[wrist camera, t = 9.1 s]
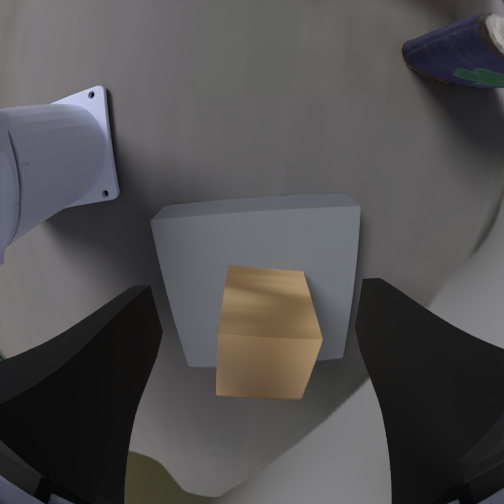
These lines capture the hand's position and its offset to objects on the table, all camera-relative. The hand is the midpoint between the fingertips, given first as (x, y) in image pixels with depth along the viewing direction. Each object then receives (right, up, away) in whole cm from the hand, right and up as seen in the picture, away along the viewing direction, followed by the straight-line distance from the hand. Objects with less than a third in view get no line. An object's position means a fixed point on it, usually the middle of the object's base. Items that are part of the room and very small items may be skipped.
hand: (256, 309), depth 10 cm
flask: (+14, +15, +4) cm, 21 cm away
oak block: (0, -1, +9) cm, 9 cm away
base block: (0, 0, +11) cm, 11 cm away
